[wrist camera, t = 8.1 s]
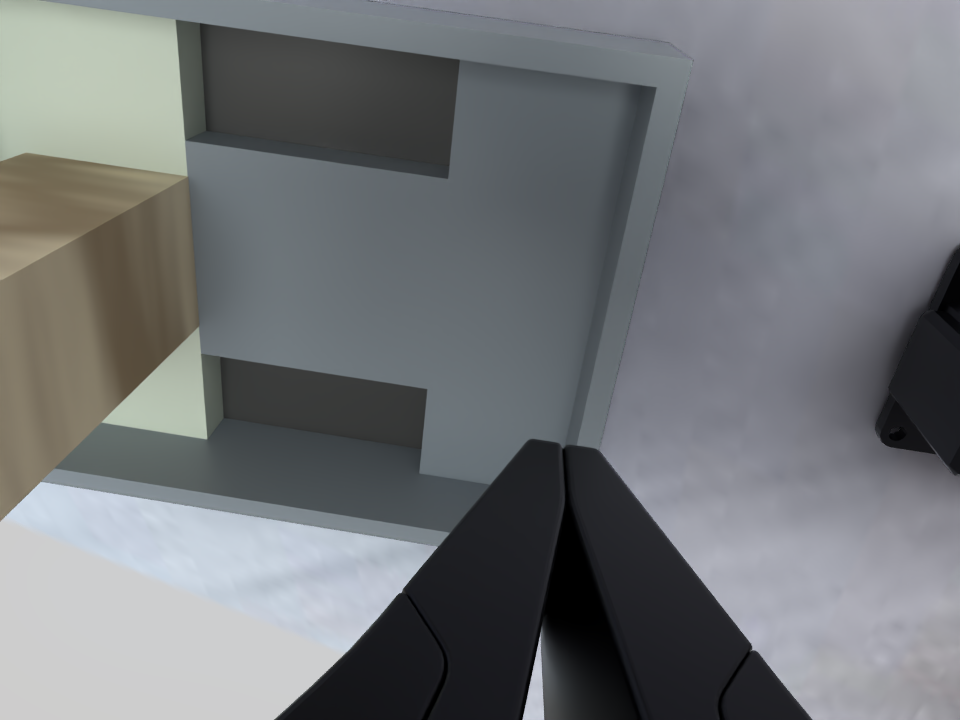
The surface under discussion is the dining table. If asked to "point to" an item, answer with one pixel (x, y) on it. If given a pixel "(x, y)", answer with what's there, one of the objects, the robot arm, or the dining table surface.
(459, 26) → the box
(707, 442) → the dining table surface
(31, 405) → the maple post
